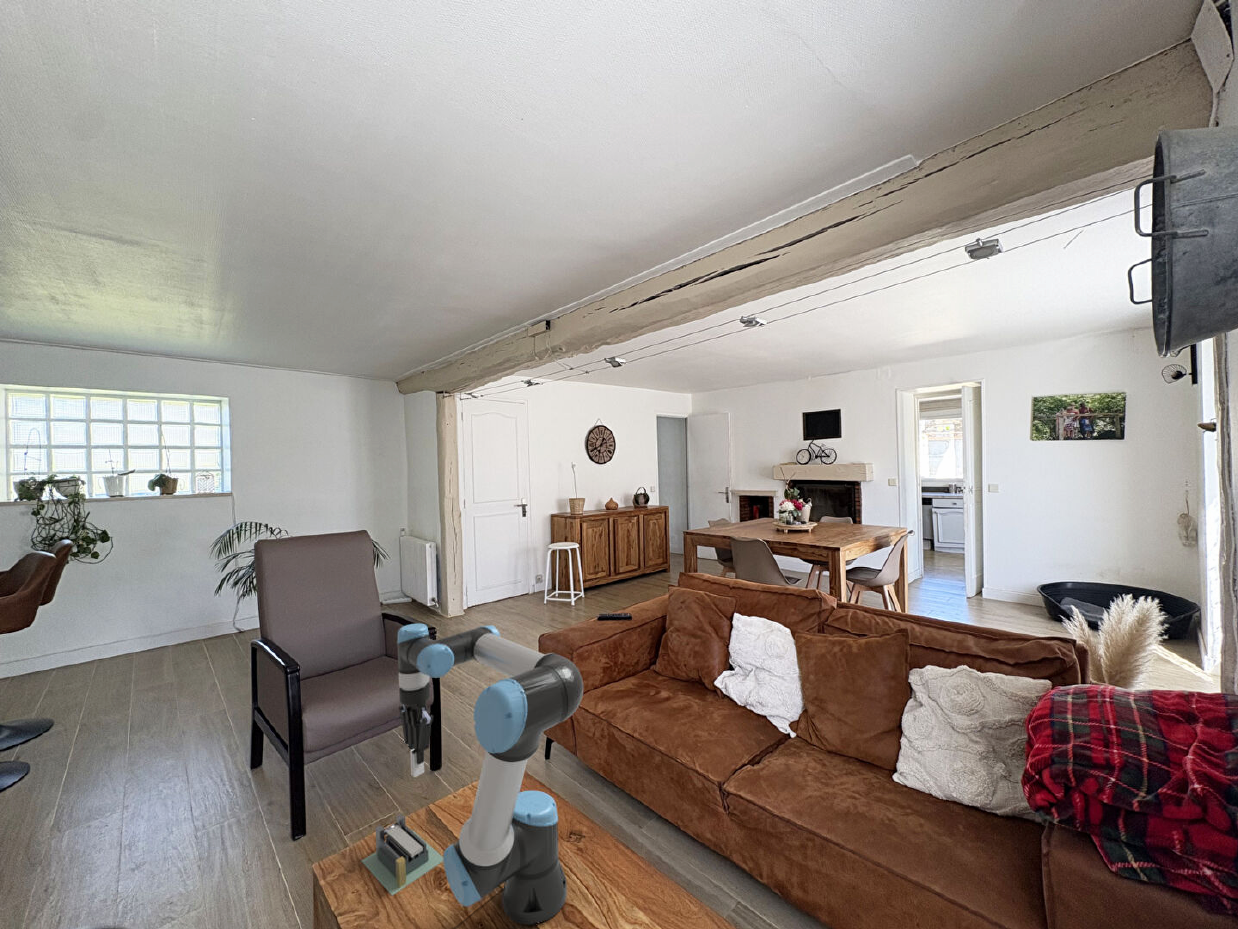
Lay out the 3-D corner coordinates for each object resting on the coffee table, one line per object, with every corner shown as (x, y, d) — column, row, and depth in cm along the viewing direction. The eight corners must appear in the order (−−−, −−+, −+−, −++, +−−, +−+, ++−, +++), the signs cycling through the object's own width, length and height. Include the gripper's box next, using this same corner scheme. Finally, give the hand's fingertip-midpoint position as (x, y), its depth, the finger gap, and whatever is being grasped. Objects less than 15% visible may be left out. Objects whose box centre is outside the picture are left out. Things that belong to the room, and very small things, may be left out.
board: (445, 864, 133) (445, 859, 133) (392, 900, 122) (392, 895, 122) (412, 834, 144) (412, 830, 144) (361, 865, 133) (361, 860, 133)
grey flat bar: (424, 851, 129) (423, 845, 129) (410, 859, 127) (410, 854, 127) (396, 826, 139) (395, 821, 139) (382, 834, 136) (382, 828, 136)
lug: (406, 883, 125) (405, 859, 125) (399, 888, 124) (398, 863, 124) (402, 880, 126) (402, 856, 126) (396, 884, 125) (395, 860, 125)
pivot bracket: (405, 843, 139) (404, 817, 139) (380, 858, 134) (379, 831, 134) (401, 839, 140) (400, 813, 140) (376, 854, 135) (375, 827, 135)
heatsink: (428, 861, 132) (427, 842, 132) (398, 881, 126) (397, 861, 126) (407, 841, 139) (407, 823, 139) (378, 859, 133) (377, 841, 133)
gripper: (441, 685, 134) (444, 775, 134) (414, 673, 142) (417, 758, 142) (415, 696, 128) (418, 790, 128) (387, 683, 136) (391, 771, 136)
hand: (417, 773), depth 135 cm, fingers closed
